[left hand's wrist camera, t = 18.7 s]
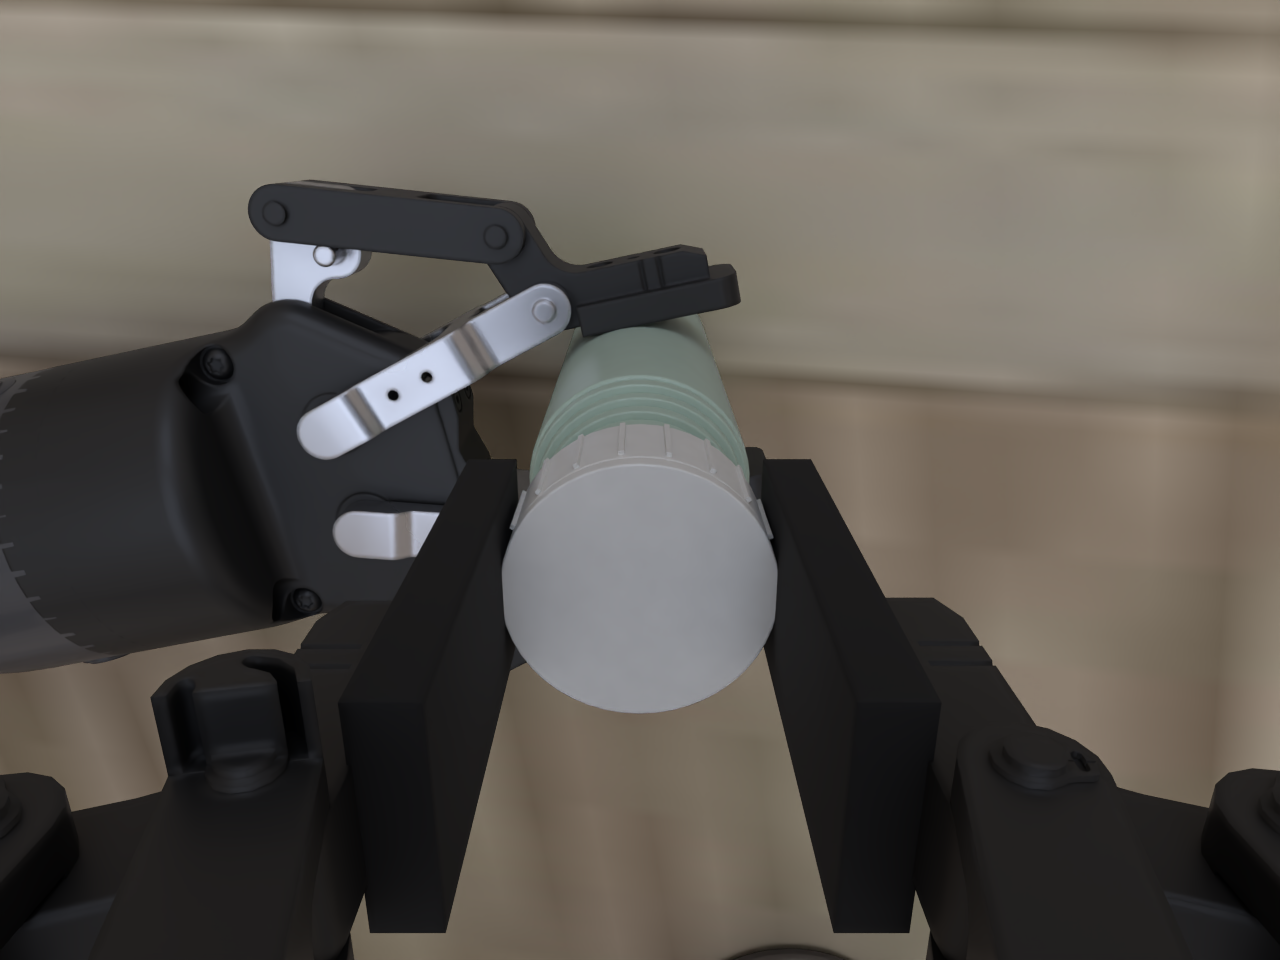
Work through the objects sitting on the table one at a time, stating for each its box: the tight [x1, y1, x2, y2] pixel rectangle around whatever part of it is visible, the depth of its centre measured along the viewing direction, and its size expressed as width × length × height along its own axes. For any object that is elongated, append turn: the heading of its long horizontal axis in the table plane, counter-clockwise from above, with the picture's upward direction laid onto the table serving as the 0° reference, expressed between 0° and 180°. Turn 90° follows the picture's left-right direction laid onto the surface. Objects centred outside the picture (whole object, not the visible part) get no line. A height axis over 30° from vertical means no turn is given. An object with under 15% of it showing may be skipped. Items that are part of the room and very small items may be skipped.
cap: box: [502, 422, 778, 714], centre depth 14 cm, size 4×4×2 cm
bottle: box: [529, 314, 750, 484], centre depth 21 cm, size 4×4×16 cm
